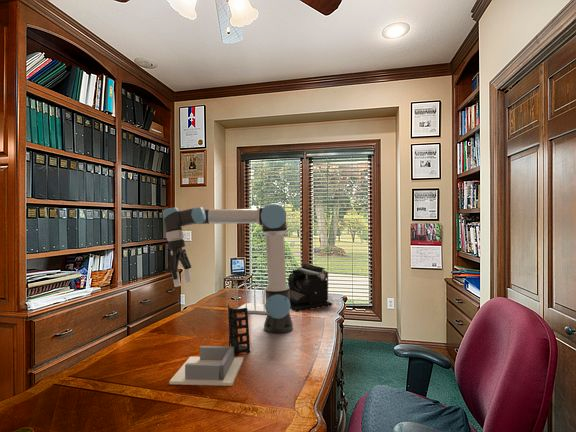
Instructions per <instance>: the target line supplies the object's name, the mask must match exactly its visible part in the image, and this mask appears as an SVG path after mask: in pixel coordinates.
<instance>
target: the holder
mask: <svg viewBox="0 0 576 432" xmlns="http://www.w3.org/2000/svg"><path fill="white" fill-rule="evenodd" d="M227 311H228V313H227V316H228V346H234V355H238V354H244V353H251V347H250V346H251V345H250V330H249V329H250V328H249V327H250V325H249V313H248V309H247V308H242V309H237V308H232V307H230V304H227ZM241 312H245V313H244V316H241V317H238V315H237V314H239V313H240V314H241ZM242 321H244V322H245V324H243V322H242ZM241 329H245V332H241V333H239V331H238V330H241ZM244 337H246V340H244V339H243V338H244Z"/></svg>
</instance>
